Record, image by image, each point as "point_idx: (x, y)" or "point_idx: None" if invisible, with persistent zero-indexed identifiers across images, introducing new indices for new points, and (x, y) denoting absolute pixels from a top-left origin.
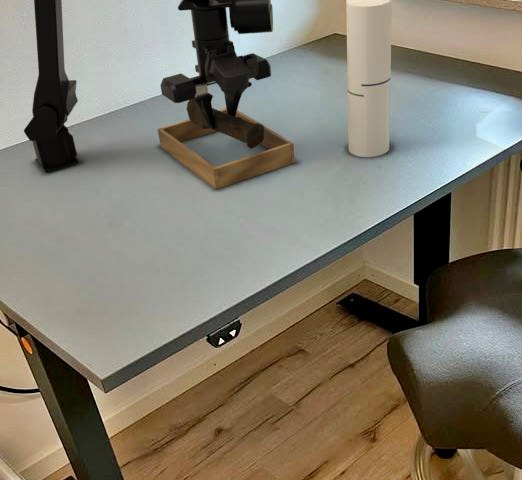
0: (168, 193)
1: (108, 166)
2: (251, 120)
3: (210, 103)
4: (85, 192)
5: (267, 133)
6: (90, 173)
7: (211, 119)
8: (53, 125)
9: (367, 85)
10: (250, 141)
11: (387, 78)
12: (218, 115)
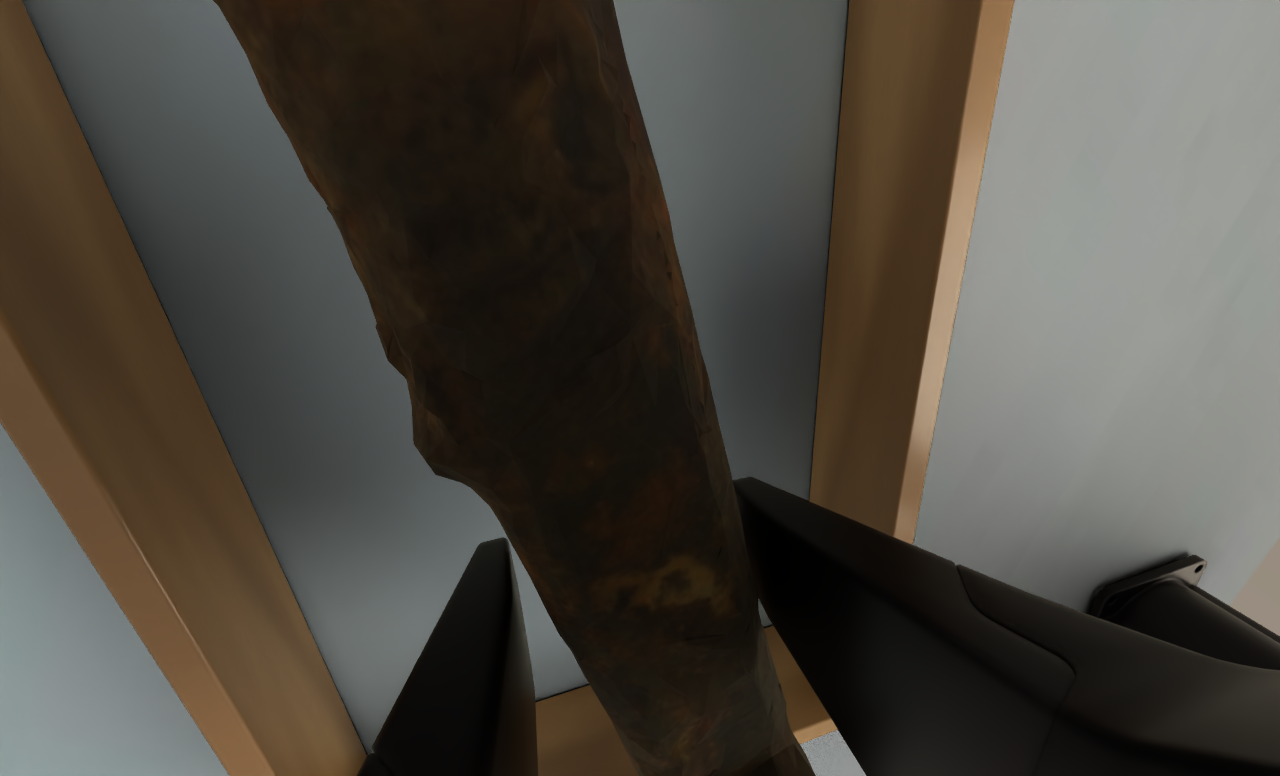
0: (1103, 30)
1: (1055, 523)
2: (207, 680)
3: (1087, 707)
4: (1249, 327)
5: (63, 355)
6: (1127, 491)
7: (834, 526)
8: None
9: None
10: None
11: None
12: (710, 605)
